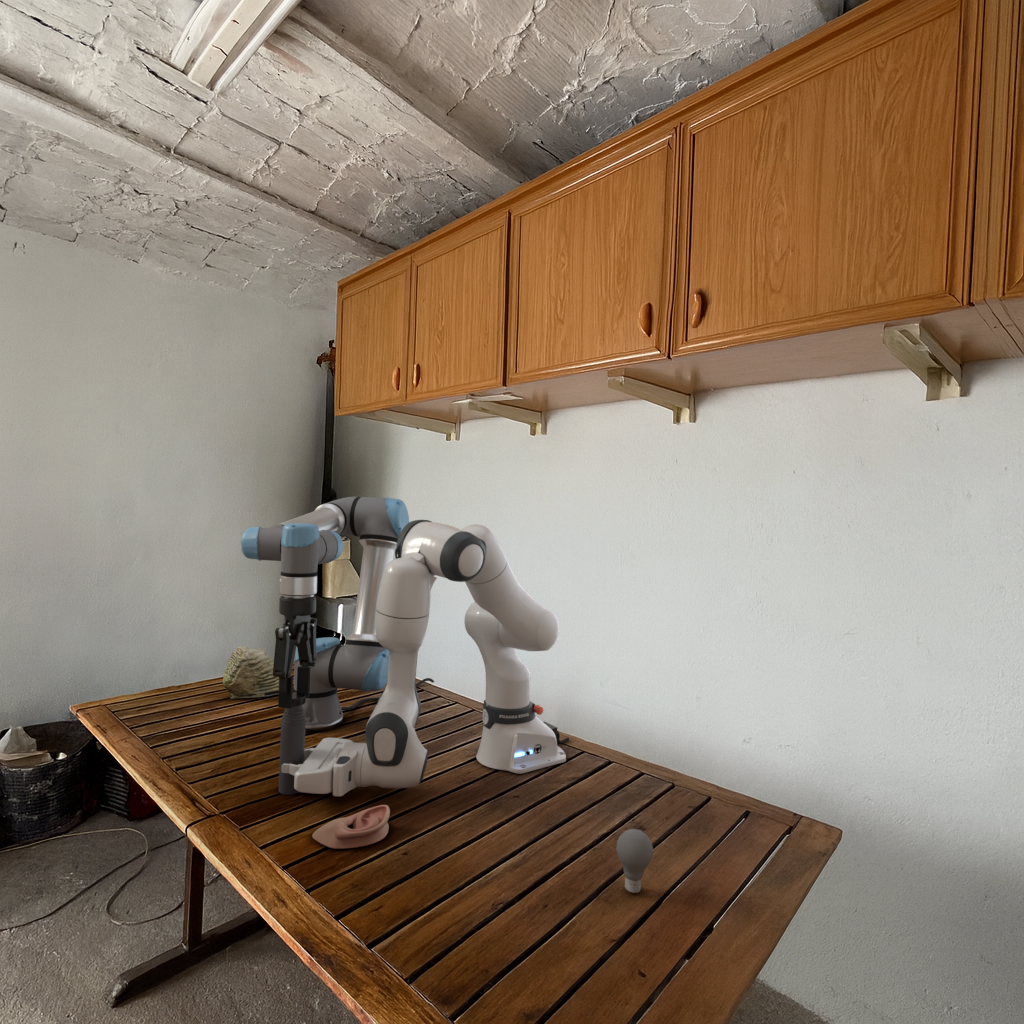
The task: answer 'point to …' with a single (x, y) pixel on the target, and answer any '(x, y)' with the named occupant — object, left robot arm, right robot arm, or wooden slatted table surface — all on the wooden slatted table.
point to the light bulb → (634, 857)
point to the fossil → (250, 674)
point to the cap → (298, 699)
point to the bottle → (291, 745)
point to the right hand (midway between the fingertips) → (287, 761)
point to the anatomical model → (355, 829)
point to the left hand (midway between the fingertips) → (294, 701)
